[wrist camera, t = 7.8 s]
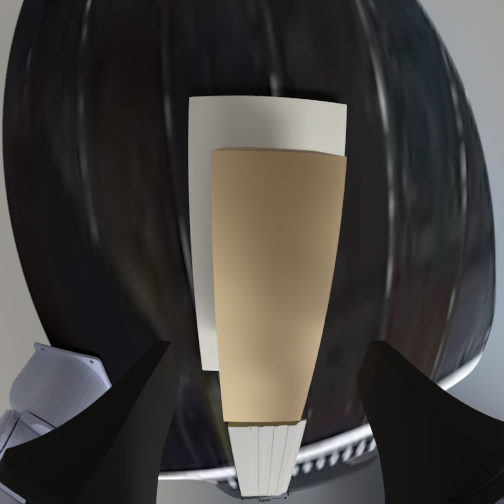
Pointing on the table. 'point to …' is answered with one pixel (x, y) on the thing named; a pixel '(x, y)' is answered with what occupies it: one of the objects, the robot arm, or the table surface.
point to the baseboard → (265, 455)
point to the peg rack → (243, 135)
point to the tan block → (272, 273)
